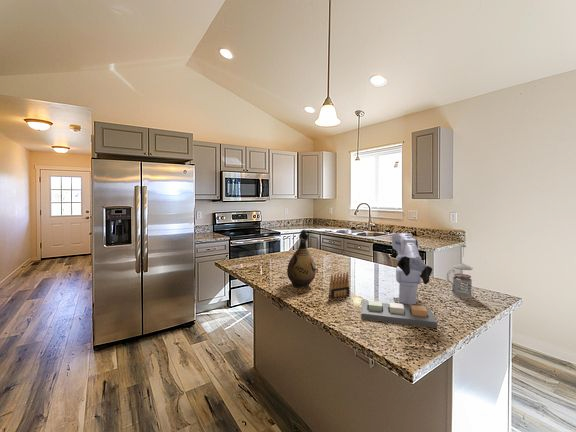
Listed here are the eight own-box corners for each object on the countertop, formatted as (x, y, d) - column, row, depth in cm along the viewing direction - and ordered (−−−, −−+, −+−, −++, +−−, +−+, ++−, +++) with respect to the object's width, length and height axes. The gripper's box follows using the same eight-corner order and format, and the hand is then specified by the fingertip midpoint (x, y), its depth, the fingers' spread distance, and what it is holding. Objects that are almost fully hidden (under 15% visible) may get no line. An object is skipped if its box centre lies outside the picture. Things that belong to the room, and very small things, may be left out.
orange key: (410, 312, 111) (411, 304, 111) (424, 313, 110) (425, 306, 109) (412, 317, 106) (412, 309, 106) (427, 319, 105) (427, 311, 105)
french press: (477, 299, 132) (479, 246, 131) (450, 297, 135) (452, 245, 133) (468, 292, 142) (470, 243, 141) (443, 290, 144) (445, 242, 143)
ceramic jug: (316, 290, 144) (317, 232, 142) (286, 289, 144) (287, 231, 142) (314, 280, 161) (315, 228, 159) (287, 280, 161) (287, 228, 159)
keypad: (362, 307, 121) (362, 300, 121) (429, 315, 113) (429, 307, 113) (361, 321, 107) (361, 313, 107) (436, 330, 100) (437, 322, 100)
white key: (389, 309, 113) (389, 302, 113) (402, 311, 112) (402, 304, 112) (390, 314, 109) (390, 307, 108) (403, 316, 107) (404, 308, 107)
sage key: (368, 307, 116) (368, 300, 116) (381, 309, 114) (381, 301, 114) (368, 312, 111) (368, 304, 111) (381, 313, 109) (382, 306, 109)
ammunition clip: (347, 295, 136) (347, 271, 135) (349, 297, 134) (350, 272, 133) (328, 299, 131) (329, 273, 130) (330, 300, 129) (331, 274, 129)
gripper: (401, 242, 115) (405, 262, 103) (434, 257, 114) (442, 279, 103) (392, 254, 118) (395, 275, 107) (424, 269, 118) (430, 291, 106)
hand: (417, 278), depth 105 cm, fingers open, 7 cm apart
